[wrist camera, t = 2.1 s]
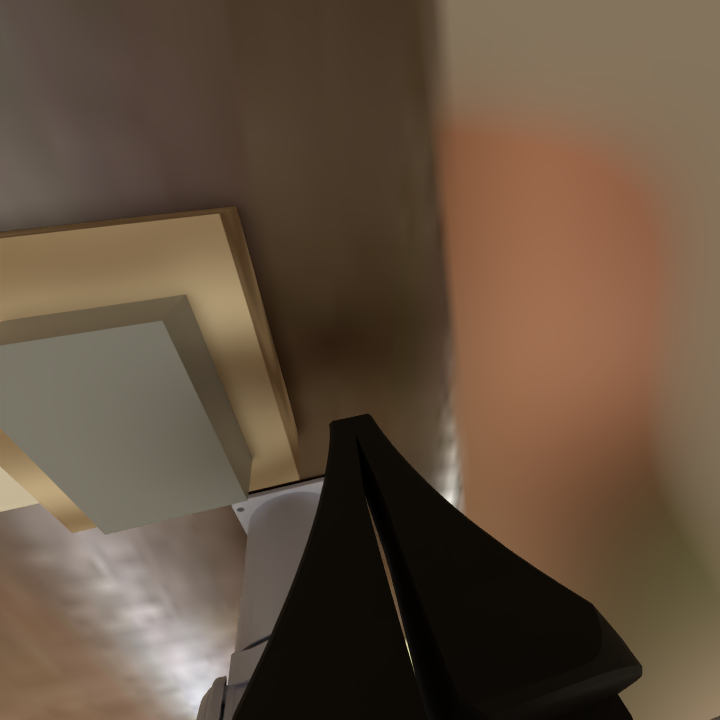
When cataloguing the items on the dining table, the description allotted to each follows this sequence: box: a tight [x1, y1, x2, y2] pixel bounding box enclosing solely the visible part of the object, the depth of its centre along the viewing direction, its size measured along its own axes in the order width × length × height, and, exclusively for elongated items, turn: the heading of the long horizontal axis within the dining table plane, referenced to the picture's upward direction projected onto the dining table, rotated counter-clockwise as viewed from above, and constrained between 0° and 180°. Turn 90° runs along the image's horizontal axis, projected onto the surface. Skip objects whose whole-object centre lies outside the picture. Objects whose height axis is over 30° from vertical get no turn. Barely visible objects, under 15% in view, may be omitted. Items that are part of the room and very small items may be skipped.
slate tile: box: [0, 294, 253, 535], centre depth 12 cm, size 9×6×2 cm, turn 5°
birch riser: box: [0, 206, 300, 533], centre depth 15 cm, size 14×12×4 cm
